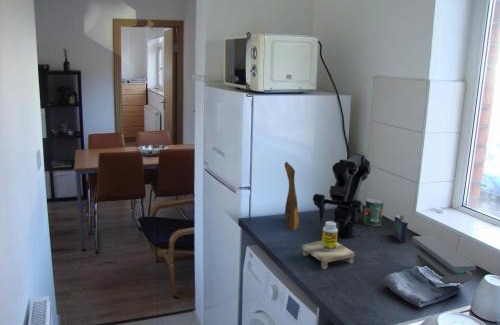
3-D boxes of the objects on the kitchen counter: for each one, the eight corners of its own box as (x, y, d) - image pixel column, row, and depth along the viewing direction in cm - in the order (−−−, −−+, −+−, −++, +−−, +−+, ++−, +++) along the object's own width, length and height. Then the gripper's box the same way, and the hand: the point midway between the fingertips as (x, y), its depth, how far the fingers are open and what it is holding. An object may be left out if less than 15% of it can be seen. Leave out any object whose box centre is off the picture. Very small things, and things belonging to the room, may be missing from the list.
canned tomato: (360, 221, 212) (362, 198, 210) (373, 219, 216) (375, 197, 213) (371, 226, 205) (373, 203, 203) (384, 224, 209) (387, 202, 206)
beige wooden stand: (301, 254, 174) (302, 244, 173) (331, 248, 180) (331, 239, 179) (323, 269, 162) (324, 259, 161) (354, 262, 168) (355, 252, 167)
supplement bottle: (322, 251, 168) (324, 225, 165) (320, 245, 173) (322, 220, 171) (337, 251, 168) (339, 225, 165) (334, 245, 173) (336, 220, 171)
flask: (391, 234, 197) (394, 211, 195) (397, 234, 198) (400, 210, 195) (401, 242, 188) (404, 218, 186) (408, 242, 189) (411, 218, 186)
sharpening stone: (471, 296, 147) (476, 265, 144) (449, 298, 145) (454, 267, 143) (428, 262, 171) (431, 235, 168) (409, 263, 169) (412, 236, 167)
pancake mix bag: (283, 232, 196) (287, 169, 189) (281, 217, 214) (284, 159, 208) (299, 232, 196) (303, 169, 189) (295, 217, 214) (299, 159, 208)
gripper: (315, 173, 176) (305, 208, 169) (363, 180, 169) (354, 217, 162) (320, 188, 185) (310, 221, 178) (366, 195, 178) (357, 230, 170)
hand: (332, 222), depth 172 cm, fingers open, 9 cm apart
